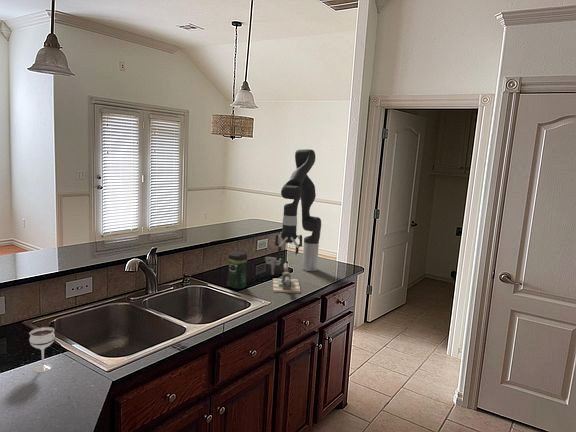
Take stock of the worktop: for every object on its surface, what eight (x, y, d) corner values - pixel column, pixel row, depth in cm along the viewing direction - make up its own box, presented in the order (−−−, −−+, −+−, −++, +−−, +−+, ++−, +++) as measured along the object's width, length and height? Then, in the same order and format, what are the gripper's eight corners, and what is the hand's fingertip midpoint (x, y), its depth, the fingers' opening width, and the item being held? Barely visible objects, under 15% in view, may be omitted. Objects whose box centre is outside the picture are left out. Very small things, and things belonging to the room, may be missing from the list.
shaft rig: (272, 277, 237) (273, 262, 236) (297, 278, 238) (298, 263, 236) (273, 294, 209) (274, 276, 207) (301, 295, 209) (302, 278, 208)
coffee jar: (248, 286, 218) (250, 252, 215) (238, 290, 212) (240, 254, 209) (234, 282, 223) (236, 249, 221) (224, 286, 217) (225, 251, 214)
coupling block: (282, 283, 225) (282, 271, 224) (289, 283, 225) (290, 271, 224) (282, 285, 221) (283, 273, 220) (290, 285, 221) (290, 273, 220)
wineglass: (43, 361, 133) (42, 325, 131) (60, 365, 131) (60, 329, 129) (24, 371, 126) (23, 334, 125) (42, 375, 125) (41, 338, 123)
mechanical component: (280, 276, 241) (281, 259, 239) (263, 274, 243) (264, 257, 241) (281, 274, 244) (282, 258, 242) (264, 272, 246) (265, 256, 244)
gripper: (302, 223, 222) (300, 252, 224) (276, 221, 221) (274, 251, 224) (303, 225, 214) (302, 256, 217) (276, 224, 214) (274, 255, 216)
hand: (288, 253), depth 220 cm, fingers open, 8 cm apart
